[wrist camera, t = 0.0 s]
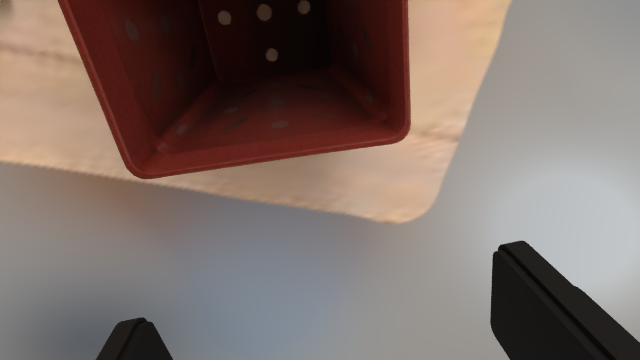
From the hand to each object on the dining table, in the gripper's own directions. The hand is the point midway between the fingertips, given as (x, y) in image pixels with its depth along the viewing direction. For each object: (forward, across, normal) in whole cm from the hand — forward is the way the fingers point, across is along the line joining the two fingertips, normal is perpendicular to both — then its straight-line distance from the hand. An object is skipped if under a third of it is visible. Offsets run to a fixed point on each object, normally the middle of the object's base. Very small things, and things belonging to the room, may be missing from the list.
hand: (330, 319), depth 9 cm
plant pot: (+32, +2, -9) cm, 33 cm away
